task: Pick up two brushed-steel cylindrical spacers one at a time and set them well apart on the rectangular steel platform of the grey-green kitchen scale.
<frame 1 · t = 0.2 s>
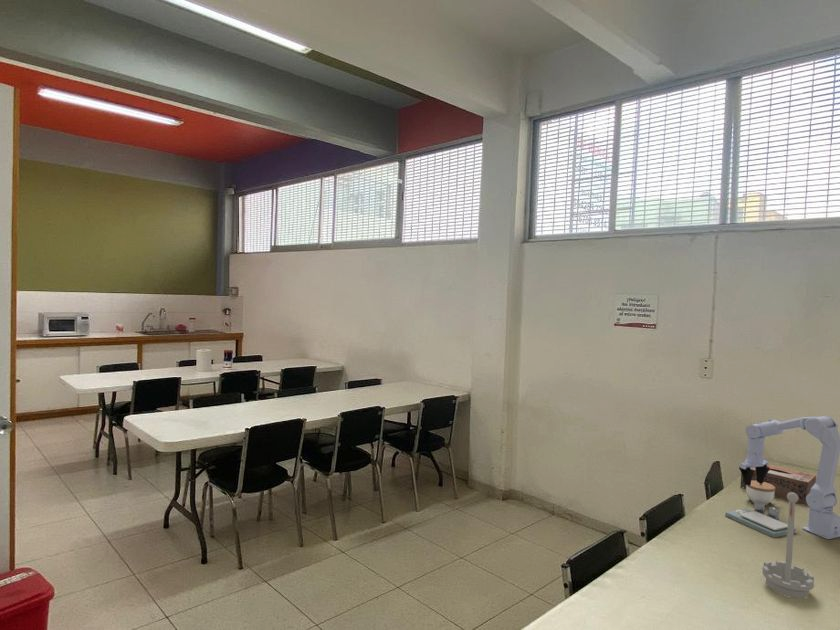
hand: (753, 483, 226), 10 cm above the table, fingers open, 7 cm apart
spacer 2: (773, 520, 213), on the table
lidded jar: (759, 502, 231), on the table
spacer 1: (759, 514, 218), on the table
tissue box cover: (776, 492, 244), on the table
scale: (759, 524, 209), on the table
flag stand: (786, 588, 163), on the table
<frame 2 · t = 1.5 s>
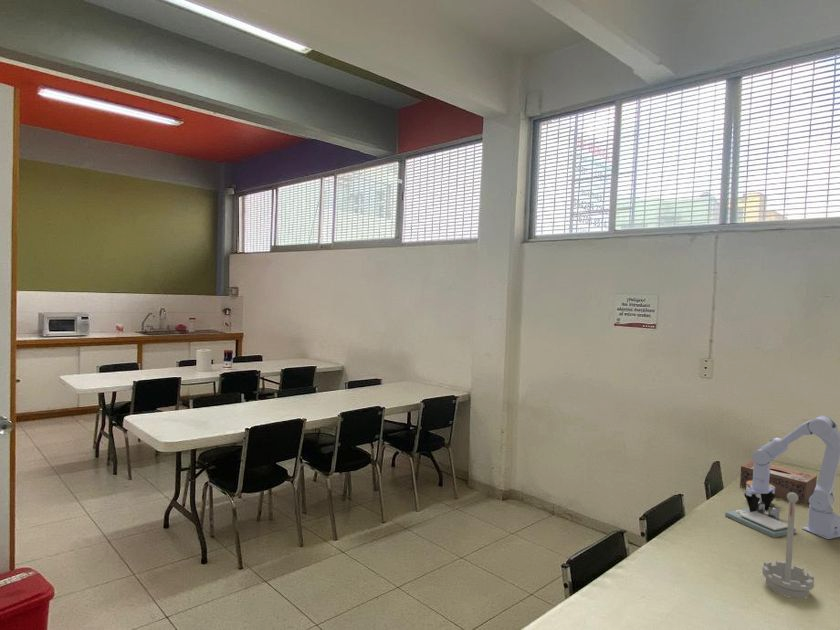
hand: (759, 510, 218), 1 cm above the table, fingers open, 7 cm apart
nothing on the table moved.
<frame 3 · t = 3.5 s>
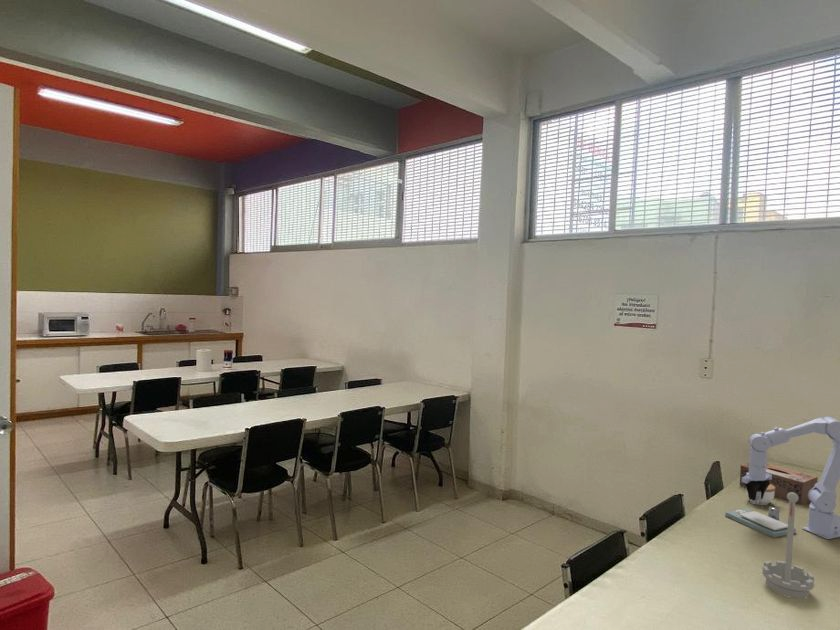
hand: (755, 498, 210), 9 cm above the table, fingers closed on spacer 1, 3 cm apart
spacer 1: (755, 502, 210), point 8 cm above the table, touching gripper
when the fingers open (5 cm above the table, at t = 4.7 s): spacer 1 stays where it is, resting on scale.
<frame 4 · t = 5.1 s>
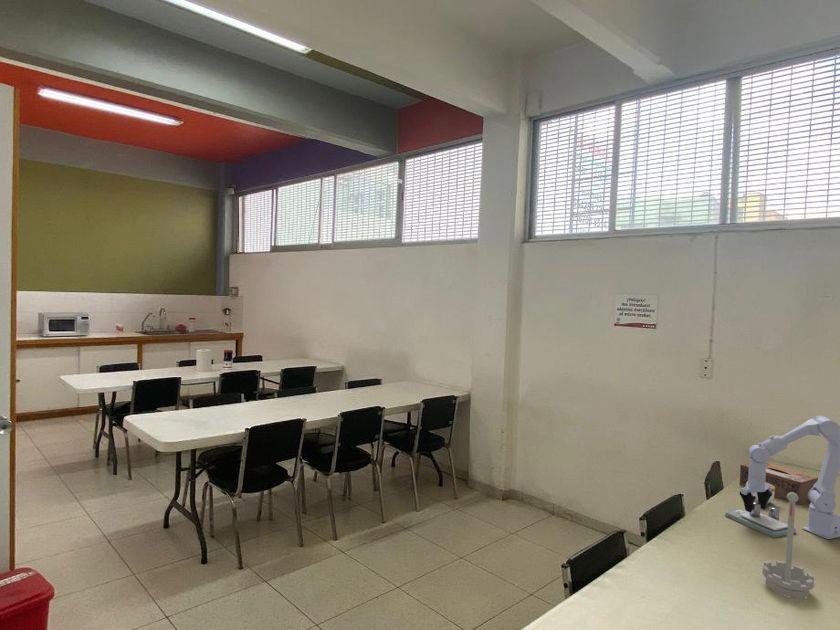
hand: (755, 509, 210), 5 cm above the table, fingers open, 7 cm apart
spacer 1: (754, 515, 210), point 3 cm above the table, touching scale
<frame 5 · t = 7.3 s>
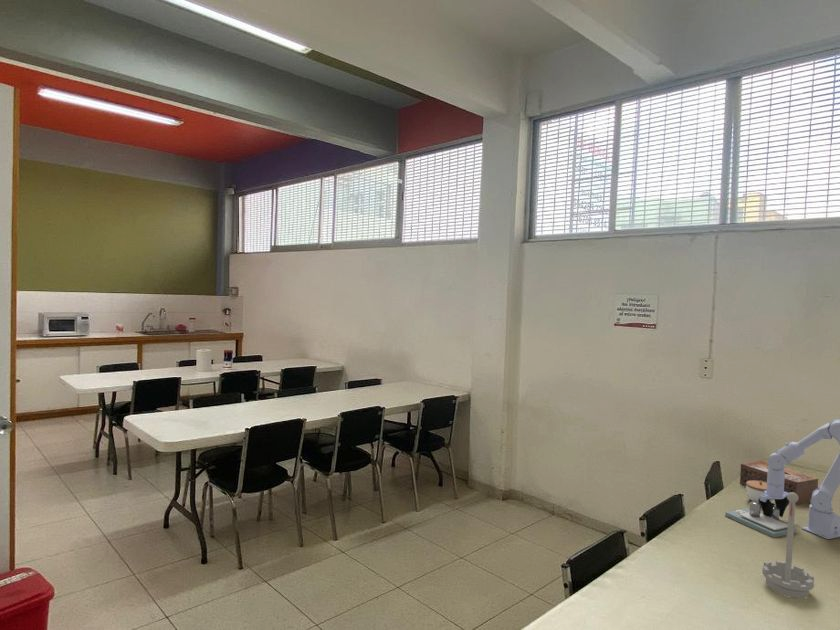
hand: (773, 516, 212), 1 cm above the table, fingers open, 7 cm apart
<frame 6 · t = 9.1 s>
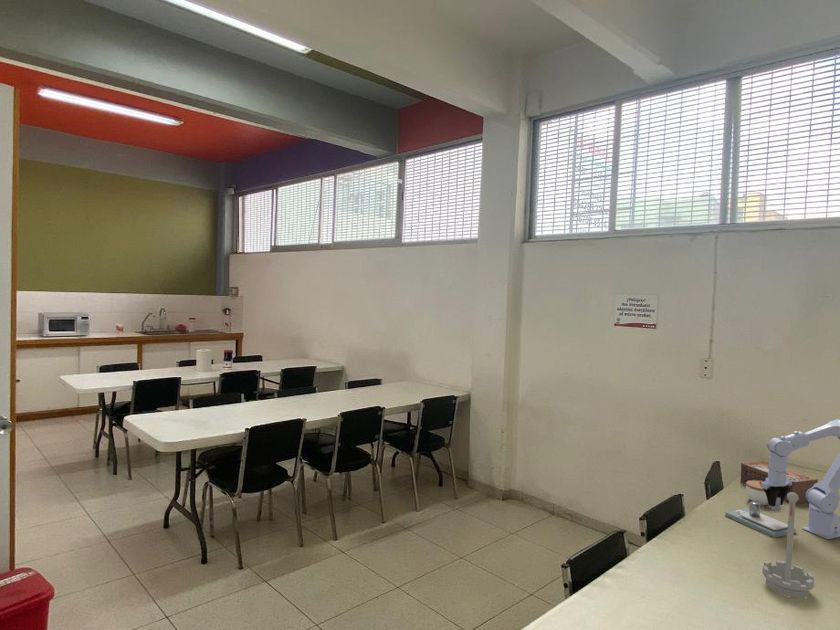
hand: (775, 504, 204), 9 cm above the table, fingers closed on spacer 2, 3 cm apart
spacer 2: (774, 508, 205), point 8 cm above the table, touching gripper
when the fingers open (5 cm above the table, at t = 10.4 s): spacer 2 stays where it is, resting on scale.
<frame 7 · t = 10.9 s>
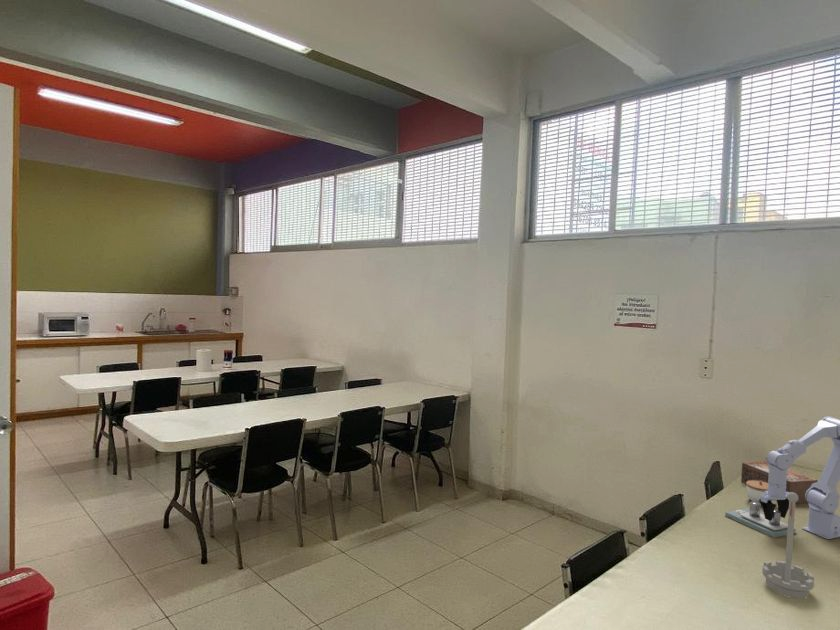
hand: (775, 518, 203), 5 cm above the table, fingers open, 7 cm apart
spacer 2: (774, 523, 203), point 3 cm above the table, touching scale
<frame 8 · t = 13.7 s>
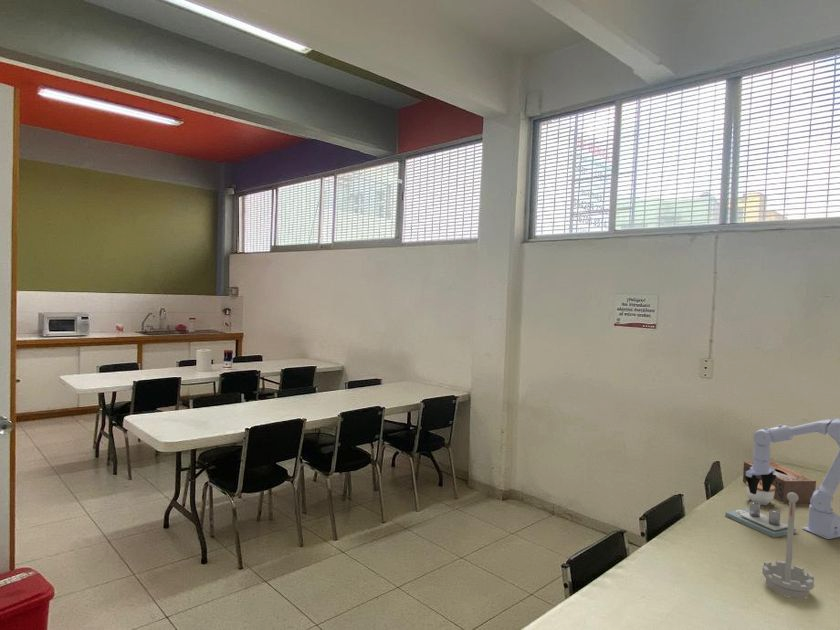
hand: (759, 492, 216), 10 cm above the table, fingers open, 7 cm apart
at the end: spacer 1 inside the target area (0.2 cm from its centre), point 2.6 cm above the table; spacer 2 inside the target area (0.5 cm from its centre), point 2.6 cm above the table; spacer 2 tilted 1° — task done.
